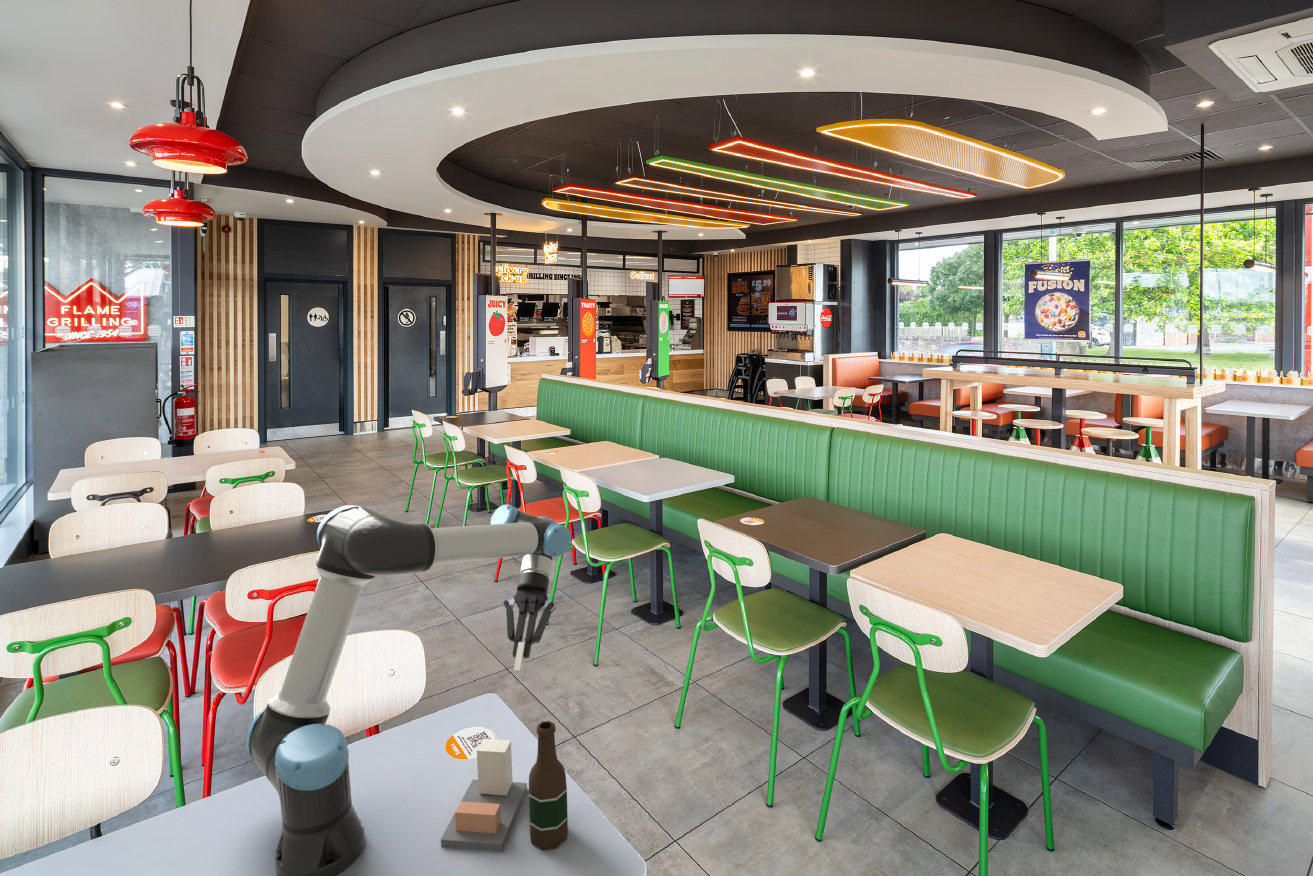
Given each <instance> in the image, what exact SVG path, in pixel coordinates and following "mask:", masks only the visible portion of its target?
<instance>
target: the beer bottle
mask: <svg viewBox="0 0 1313 876" xmlns="http://www.w3.org/2000/svg"><path fill="white" fill-rule="evenodd" d="M556 732H557V731H556V725H555V723H554V722H553V721H550V720H545V721H541V722H540V723H539V724H537V727H536V734H537V754H536V762H535V763H534V764H533V765H532V767H531V769H530V772H529V775H528V803H529V804H528V807H529V809H528V810H529V813H528V814H529V834H530V835H529V836H530V843H531V845H533V846H535V847H536V848H538V849H540V850H541V851H546V850H547V851H548V850H555V849H558V848H559V847H560V846H561V845H563V843H564V842H565V841H566V840H567V839H568V837H569V836H568V833H569V826H568V824H569V823H568V818H569V817H568V788H567V787H568V786H567V776H566V770H565V766H564V765H563V763H561V761H560V760H558V756H557V750H556V741H555V740H556V737H555V733H556Z"/></svg>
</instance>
